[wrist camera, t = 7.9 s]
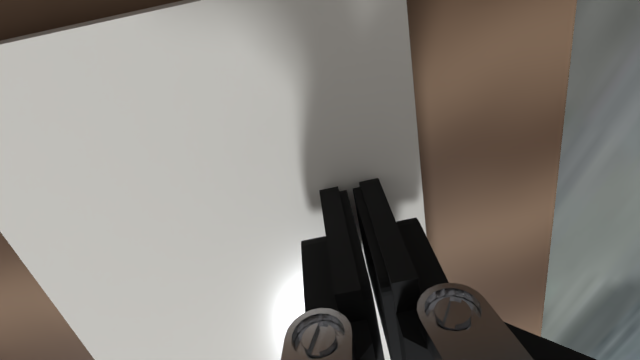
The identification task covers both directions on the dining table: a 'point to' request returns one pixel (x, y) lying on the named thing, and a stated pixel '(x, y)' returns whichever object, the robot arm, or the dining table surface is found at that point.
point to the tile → (199, 163)
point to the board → (434, 149)
